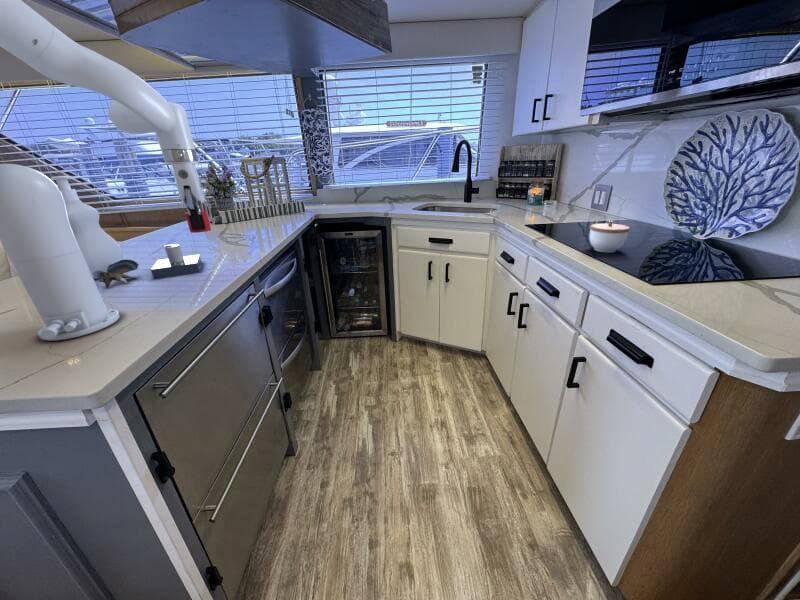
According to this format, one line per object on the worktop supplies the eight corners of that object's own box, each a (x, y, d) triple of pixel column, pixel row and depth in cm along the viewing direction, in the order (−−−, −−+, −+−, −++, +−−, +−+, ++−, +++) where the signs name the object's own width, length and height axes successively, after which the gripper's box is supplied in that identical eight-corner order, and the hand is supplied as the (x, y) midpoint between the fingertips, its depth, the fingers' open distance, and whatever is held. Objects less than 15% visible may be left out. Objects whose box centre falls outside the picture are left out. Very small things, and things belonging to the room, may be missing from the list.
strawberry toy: (210, 231, 90) (205, 209, 88) (189, 233, 88) (182, 210, 85) (211, 228, 94) (206, 207, 92) (191, 230, 92) (185, 209, 90)
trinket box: (631, 253, 100) (639, 223, 97) (596, 254, 101) (603, 224, 97) (611, 245, 110) (618, 217, 106) (580, 246, 111) (585, 219, 107)
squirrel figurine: (123, 284, 89) (146, 268, 96) (97, 265, 86) (124, 250, 93) (110, 297, 91) (134, 281, 99) (85, 279, 88) (112, 263, 96)
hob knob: (184, 258, 104) (179, 242, 102) (183, 261, 101) (177, 245, 99) (170, 260, 103) (165, 244, 101) (168, 263, 99) (162, 247, 97)
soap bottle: (99, 283, 94) (53, 176, 83) (59, 285, 94) (6, 178, 82) (139, 266, 110) (104, 174, 98) (104, 267, 109) (65, 175, 98)
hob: (199, 272, 100) (196, 262, 99) (154, 279, 96) (150, 269, 94) (202, 262, 110) (199, 253, 109) (160, 268, 106) (157, 259, 104)
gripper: (194, 156, 78) (213, 231, 85) (199, 158, 92) (216, 222, 99) (157, 157, 75) (180, 234, 82) (169, 159, 89) (188, 225, 96)
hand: (199, 227), depth 91 cm, fingers closed on strawberry toy, 5 cm apart
